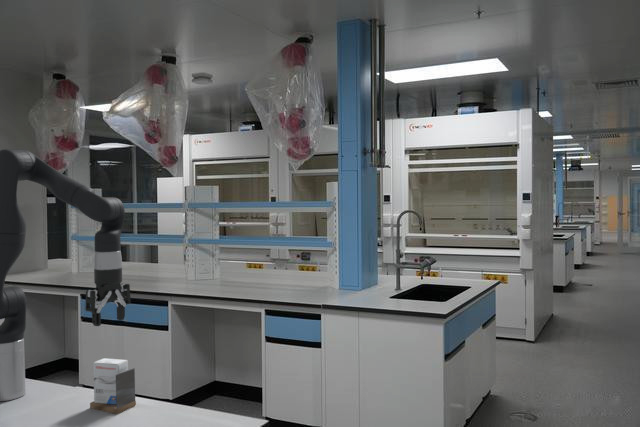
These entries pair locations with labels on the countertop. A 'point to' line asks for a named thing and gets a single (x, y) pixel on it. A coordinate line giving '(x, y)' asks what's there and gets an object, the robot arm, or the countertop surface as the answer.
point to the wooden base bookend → (120, 394)
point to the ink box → (107, 379)
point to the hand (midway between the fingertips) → (109, 322)
